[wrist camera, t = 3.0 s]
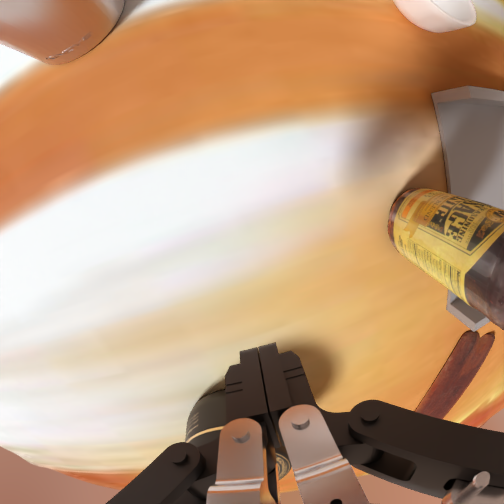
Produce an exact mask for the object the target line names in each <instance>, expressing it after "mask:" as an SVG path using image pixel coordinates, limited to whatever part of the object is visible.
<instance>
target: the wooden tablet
mask: <svg viewBox="0 0 504 504" xmlns="http://www.w3.org/2000/svg"><path fill="white" fill-rule="evenodd" d="M494 339H495V336H494V334H493V333H488V334H485V335H483V336H482V337H481V338H480V336H479V334H478V333H477V332H473V331H468V332H466V333H464V334H463V335H462V337H461V339H460V340H459V342H458V343H457V345H456V347H455V349H454V350H453V352H452V353H451V355H450V357H449V358H448V360H447V362H446V363H445V365H444V367H443V368H442V370H441V372H440V373H439V375H438V376H437V378H436V379H435V381H434V383H433V384H432V386H431V387H430V389H429V390H428V392H427V394H426V395H425V397H424V398H423V399H422V401H421V403H420V404H419V406H418V407H417V409H416V410H415V412H417V413H421V414H424V415H428V416H432V417H435V418H439V419H443V418H444V417H445V415H446V414H447V413H448V412H449V411H450V410H451V408H452V407H453V406H454V405H455V403H456V402H457V401H458V399H459V398H460V397H461V395H462V394H463V393H464V391H465V390H466V388H467V387H468V386H469V384H470V383H471V381H472V380H473V378H474V377H475V375H476V373H477V372H478V370H479V369H480V367H481V365H482V364H483V362H484V360H485V358H486V356H487V355H488V353H489V351H490V349H491V347H492V345H493V342H494Z"/></svg>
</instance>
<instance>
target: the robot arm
mask: <svg viewBox="0 0 504 504" xmlns="http://www.w3.org/2000/svg"><path fill="white" fill-rule="evenodd" d="M124 2H125V0H0V44H2V45H5V46H7V47H10V48H12V49H14V50H17V51H19V52H21V53H24V54H26V55H28V56H31V57H33V58H35V59H38V60H40V61H42V62H44V63H48V64H51V65H55V64H63V63H67V62H70V61H72V60H74V59H77V58H79V57H81V56H82V55H84V54H85V53H87V52H89V51H90V50H91V49H92V48H94V47H95V46H96V45H97V44H99V43H100V42H101V41H102V40H103V39H104V38H105V37H106V36H107V35H108V33H109V32H110V31H111V30H112V28H113V27H114V26H115V24H116V23H117V21H118V19H119V17H120V16H121V13H122V10H123V8H124ZM258 348H259V351H258ZM258 348H257V347H256V348H252V349H248V350H244V351H240V363H241V364H237V365H232V366H230V367H229V369H228V371H227V373H226V375H225V385H226V425H225V426H224V427H223V429H222V430H221V433H220V436H219V437H218V438H217V439H215V440H213V441H211V442H209V443H207V444H204V445H202V446H199V447H196V446H194V445H193V444H191V443H187V442H180V443H175V444H173V445H171V446H169V447H168V448H167V449H166V450H165V451H164V452H162V453H161V454H160V455H159V456H158V457H157V458H156V459H155V460H154V461H153V462H152V463H151V464H150V465H149V466H148V467H147V468H146V469H145V470H143V471H142V472H141V473H140V474H139V475H138V476H137V477H136V478H135V479H134V480H132V481H131V482H130V483H129V484H128V485H127V486H126V487H125V488H123V489H122V490H121V491H120V492H119V493H118V494H117V495H115V496H114V497H113V498H112V499H111V500H110V501H108V502H107V503H106V504H281V501H280V489H279V477H278V465H277V459H276V453H275V448H279V447H281V445H280V441H281V443H282V446H285V447H286V450H287V453H288V456H289V459H290V462H291V465H292V468H293V472H294V475H295V479H296V482H297V485H298V488H299V491H300V494H301V497H302V499H303V503H304V504H370V503H369V501H368V499H367V497H366V495H365V493H364V491H363V489H362V487H361V485H360V483H359V482H358V479H357V477H356V475H355V473H354V471H353V469H352V467H351V465H352V466H353V467H355V468H357V469H359V470H362V471H364V472H366V473H369V474H371V475H374V476H376V477H379V478H381V479H384V480H386V481H389V482H391V483H394V484H397V485H400V486H403V487H405V488H408V489H411V490H414V491H418V492H421V493H424V494H428V495H431V496H434V497H438V498H442V502H441V504H504V433H503V432H497V431H492V430H487V429H482V428H477V427H472V426H468V425H463V424H459V423H455V422H451V421H447V420H443V419H439V418H435V417H432V416H428V415H424V414H421V413H417V412H414V411H411V410H407V409H404V408H401V407H398V406H395V405H391V404H388V403H385V402H382V401H379V400H367V401H363V402H361V403H359V404H357V405H356V406H355V407H354V408H353V409H352V410H351V411H350V412H342V413H332V412H327V411H325V410H322V409H321V408H320V407H318V405H317V404H316V402H315V400H314V397H313V395H312V392H311V389H310V386H309V383H308V381H307V378H306V375H305V372H304V369H303V367H302V364H301V361H300V358H299V357H298V356H297V355H296V354H295V353H293V352H292V351H289V352H285V353H281V354H278V350H277V346H276V343H272V344H268V345H264V346H260V347H258ZM279 438H280V440H279Z"/></svg>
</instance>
